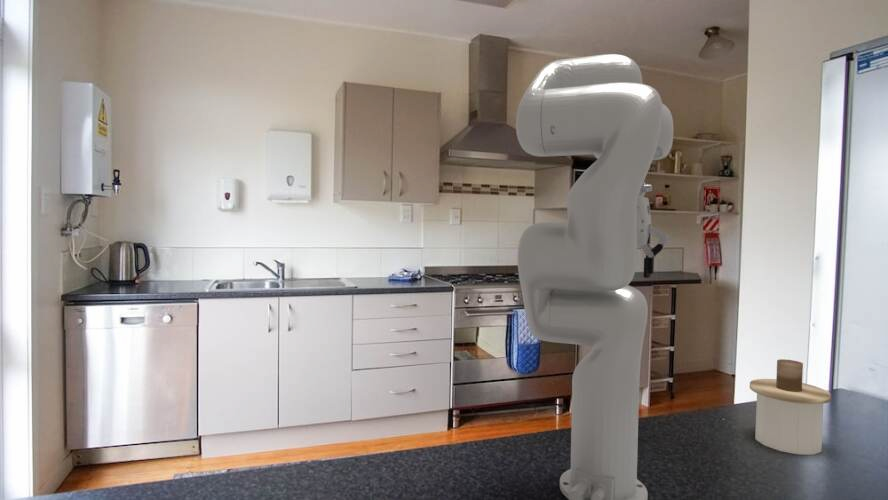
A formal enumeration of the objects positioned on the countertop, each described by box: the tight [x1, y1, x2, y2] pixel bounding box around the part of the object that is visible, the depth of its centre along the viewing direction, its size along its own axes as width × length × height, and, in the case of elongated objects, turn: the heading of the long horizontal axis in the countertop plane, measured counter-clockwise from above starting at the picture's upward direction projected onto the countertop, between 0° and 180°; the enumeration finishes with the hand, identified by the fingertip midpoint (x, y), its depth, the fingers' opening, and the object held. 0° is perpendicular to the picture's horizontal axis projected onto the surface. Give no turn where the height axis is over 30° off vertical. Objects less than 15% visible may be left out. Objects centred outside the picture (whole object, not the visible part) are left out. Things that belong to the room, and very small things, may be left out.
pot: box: [754, 393, 824, 456], centre depth 96 cm, size 10×10×10 cm
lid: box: [749, 358, 832, 405], centre depth 96 cm, size 13×13×6 cm
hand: (622, 276), depth 104 cm, fingers open, 9 cm apart
